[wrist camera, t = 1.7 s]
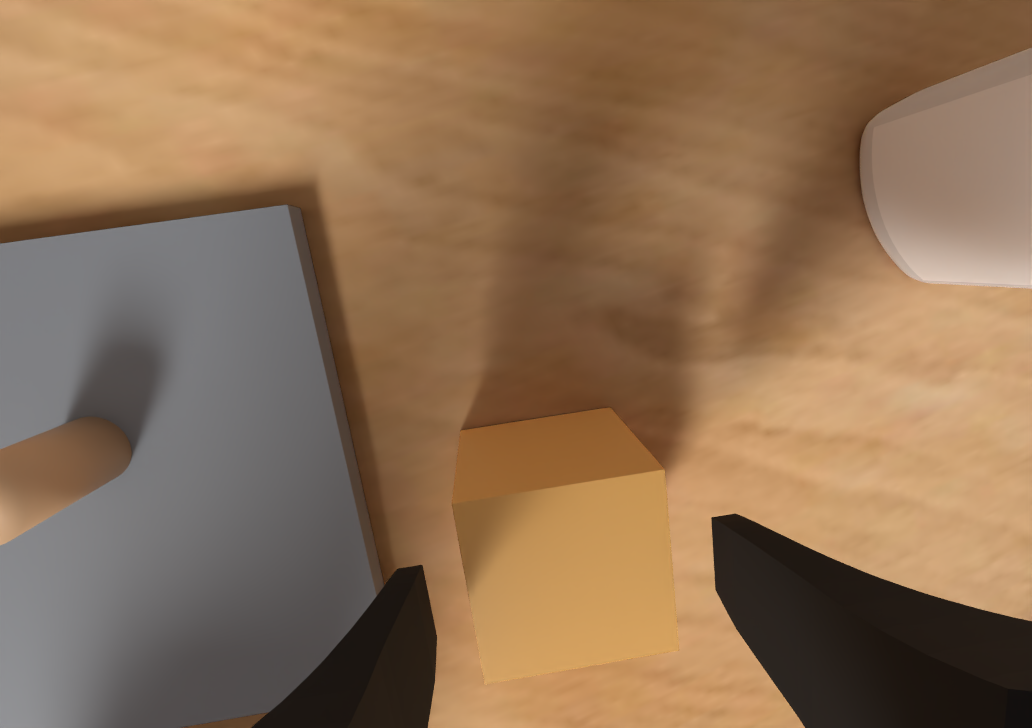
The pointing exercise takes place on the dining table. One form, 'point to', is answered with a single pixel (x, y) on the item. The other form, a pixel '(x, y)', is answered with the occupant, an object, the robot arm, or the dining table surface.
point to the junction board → (172, 475)
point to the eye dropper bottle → (956, 178)
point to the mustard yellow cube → (563, 544)
